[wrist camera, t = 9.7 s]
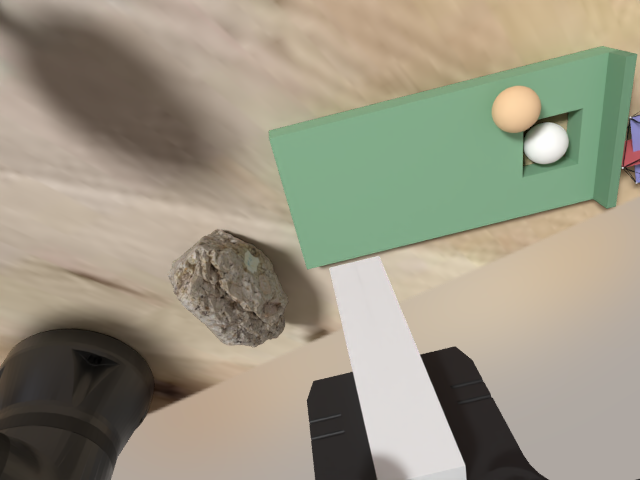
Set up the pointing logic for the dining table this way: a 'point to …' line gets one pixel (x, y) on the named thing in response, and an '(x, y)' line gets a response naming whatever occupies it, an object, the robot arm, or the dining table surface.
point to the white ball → (545, 143)
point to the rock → (230, 289)
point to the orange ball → (516, 109)
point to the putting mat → (452, 158)
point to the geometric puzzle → (633, 148)
